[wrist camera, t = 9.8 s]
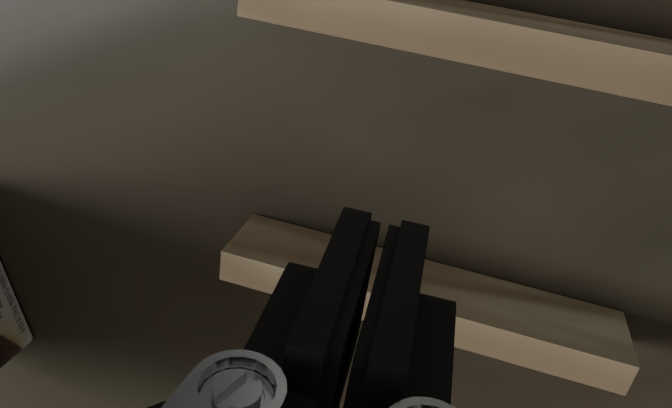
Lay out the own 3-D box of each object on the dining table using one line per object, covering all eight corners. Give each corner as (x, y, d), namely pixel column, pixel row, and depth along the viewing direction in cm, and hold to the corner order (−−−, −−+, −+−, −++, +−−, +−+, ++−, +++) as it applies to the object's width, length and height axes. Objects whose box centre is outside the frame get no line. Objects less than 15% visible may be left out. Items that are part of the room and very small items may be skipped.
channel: (277, -36, 19) (240, -29, 16) (743, 53, 17) (787, 78, 14) (251, 239, 24) (219, 279, 21) (611, 338, 22) (625, 396, 19)
